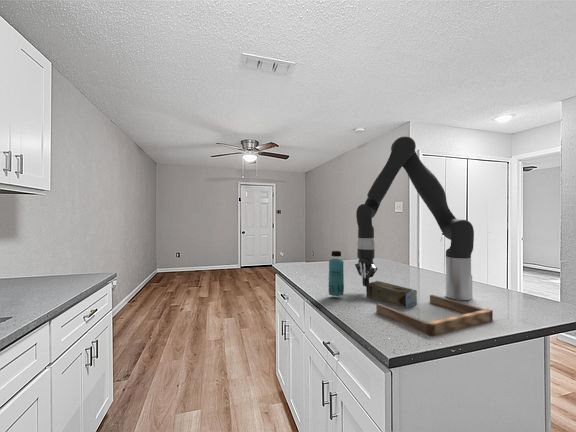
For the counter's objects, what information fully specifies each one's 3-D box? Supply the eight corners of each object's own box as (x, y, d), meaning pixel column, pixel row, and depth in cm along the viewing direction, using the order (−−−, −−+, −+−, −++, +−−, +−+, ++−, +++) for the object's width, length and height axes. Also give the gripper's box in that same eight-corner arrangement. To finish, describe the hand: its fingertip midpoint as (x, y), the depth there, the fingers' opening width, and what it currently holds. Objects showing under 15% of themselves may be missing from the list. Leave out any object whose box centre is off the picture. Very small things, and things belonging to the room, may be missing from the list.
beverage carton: (406, 309, 106) (405, 291, 106) (365, 297, 121) (365, 282, 121) (417, 305, 110) (417, 288, 110) (376, 294, 126) (376, 279, 126)
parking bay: (432, 302, 113) (432, 293, 113) (492, 320, 93) (492, 310, 93) (376, 312, 101) (376, 302, 101) (431, 336, 81) (431, 324, 81)
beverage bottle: (326, 295, 123) (326, 250, 123) (341, 295, 124) (341, 249, 124) (330, 300, 117) (330, 252, 117) (346, 299, 117) (345, 251, 117)
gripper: (382, 249, 123) (382, 288, 123) (362, 246, 135) (362, 282, 135) (369, 249, 120) (369, 290, 120) (350, 246, 132) (349, 283, 132)
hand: (365, 285), depth 128 cm, fingers closed
